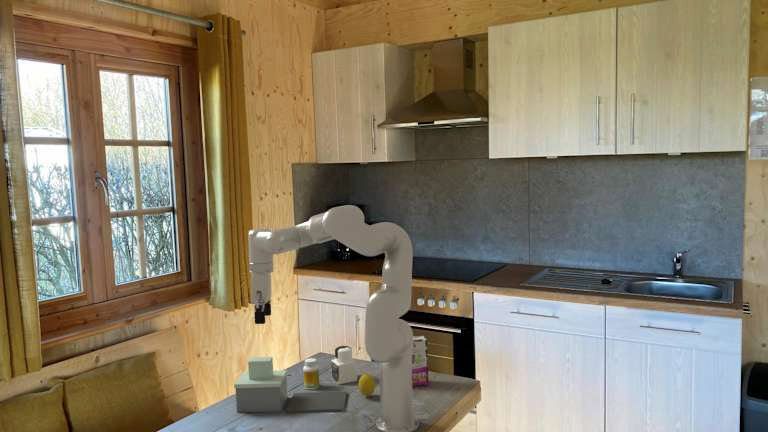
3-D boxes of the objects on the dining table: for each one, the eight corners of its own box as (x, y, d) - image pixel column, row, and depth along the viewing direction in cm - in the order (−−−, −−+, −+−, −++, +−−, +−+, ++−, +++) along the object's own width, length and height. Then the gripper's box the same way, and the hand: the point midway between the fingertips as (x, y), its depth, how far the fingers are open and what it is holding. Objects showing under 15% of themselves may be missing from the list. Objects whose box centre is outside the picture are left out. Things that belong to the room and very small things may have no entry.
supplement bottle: (316, 390, 199) (315, 362, 198) (301, 389, 200) (300, 362, 199) (321, 384, 204) (320, 357, 203) (307, 383, 205) (305, 357, 204)
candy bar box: (426, 380, 204) (424, 335, 203) (428, 385, 199) (427, 339, 198) (394, 383, 203) (393, 337, 201) (396, 388, 198) (395, 341, 196)
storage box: (287, 397, 194) (286, 374, 193) (280, 411, 183) (279, 386, 182) (246, 398, 194) (244, 375, 193) (237, 412, 183) (235, 387, 182)
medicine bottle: (331, 378, 209) (330, 346, 208) (350, 374, 212) (348, 343, 211) (338, 385, 203) (337, 351, 202) (357, 381, 206) (356, 348, 205)
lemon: (366, 392, 195) (365, 369, 195) (379, 395, 192) (378, 372, 191) (355, 397, 191) (354, 374, 190) (368, 401, 188) (367, 377, 187)
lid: (287, 376, 193) (286, 352, 193) (280, 389, 182) (279, 364, 181) (244, 377, 194) (242, 354, 193) (234, 391, 182) (233, 366, 181)
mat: (347, 393, 195) (347, 391, 195) (343, 411, 181) (343, 408, 181) (294, 395, 195) (294, 392, 195) (286, 412, 181) (286, 410, 181)
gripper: (255, 262, 193) (257, 312, 195) (243, 272, 176) (245, 327, 178) (277, 262, 193) (279, 312, 195) (267, 272, 176) (269, 327, 178)
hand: (263, 319), depth 186 cm, fingers open, 9 cm apart
